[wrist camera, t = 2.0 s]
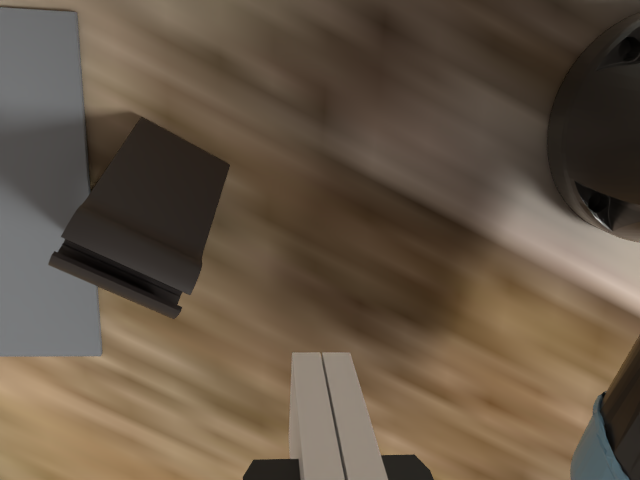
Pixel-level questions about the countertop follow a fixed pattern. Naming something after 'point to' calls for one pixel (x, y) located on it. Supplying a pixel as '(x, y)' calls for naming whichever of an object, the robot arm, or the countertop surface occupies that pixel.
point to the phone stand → (146, 220)
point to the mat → (42, 186)
